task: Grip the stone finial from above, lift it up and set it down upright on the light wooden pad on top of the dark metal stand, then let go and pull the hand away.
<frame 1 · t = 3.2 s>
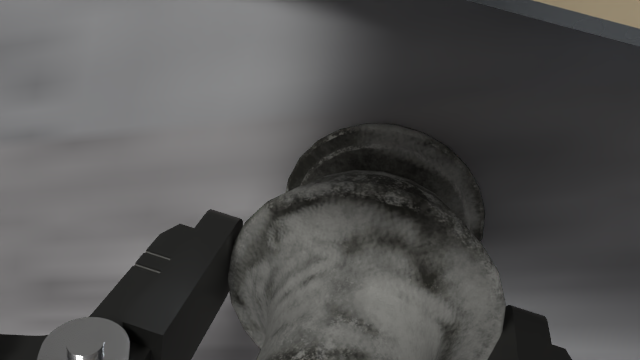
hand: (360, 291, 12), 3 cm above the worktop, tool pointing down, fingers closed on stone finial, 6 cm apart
stone finial: (381, 211, 15), on the worktop, touching gripper
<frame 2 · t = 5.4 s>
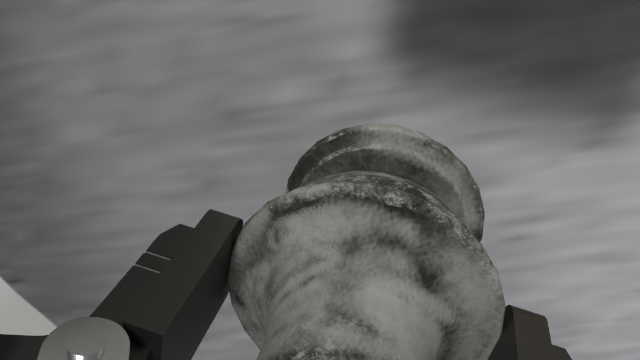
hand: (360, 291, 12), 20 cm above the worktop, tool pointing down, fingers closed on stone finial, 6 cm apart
stone finial: (381, 211, 15), point 17 cm above the worktop, touching gripper
when the fingers open (13 cm above the worktop, at t = 8.1 s): stone finial drops 1 cm, resting on stand.
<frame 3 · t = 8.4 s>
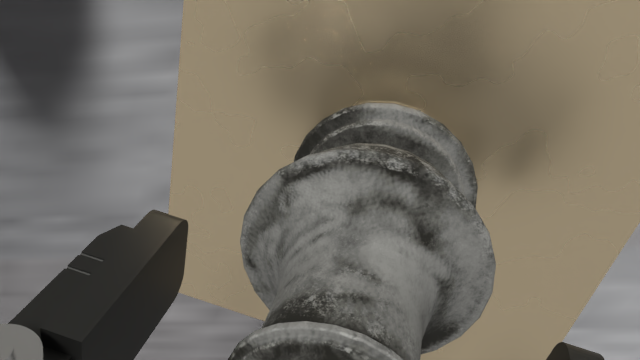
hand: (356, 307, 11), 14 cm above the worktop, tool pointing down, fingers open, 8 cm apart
stand: (412, 86, 23), on the worktop
stone finial: (382, 186, 16), point 9 cm above the worktop, touching stand
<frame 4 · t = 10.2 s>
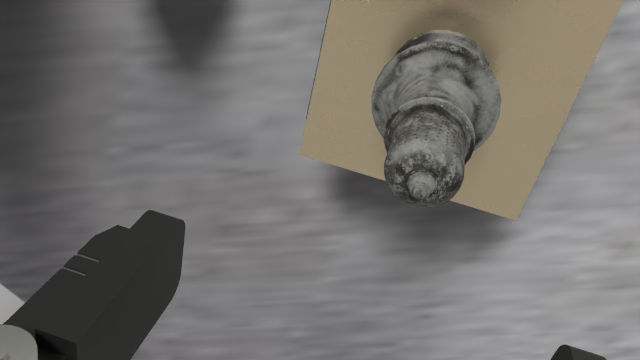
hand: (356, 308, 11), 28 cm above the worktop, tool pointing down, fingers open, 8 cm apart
stand: (447, 39, 36), on the worktop
stone finial: (438, 80, 28), point 9 cm above the worktop, touching stand
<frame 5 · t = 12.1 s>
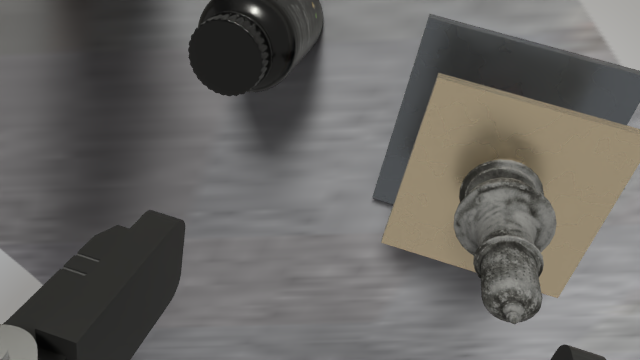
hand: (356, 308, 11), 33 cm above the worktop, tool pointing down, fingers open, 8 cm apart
stand: (495, 138, 43), on the worktop
supplement bottle: (283, 14, 43), on the worktop
stone finial: (500, 193, 36), point 9 cm above the worktop, touching stand
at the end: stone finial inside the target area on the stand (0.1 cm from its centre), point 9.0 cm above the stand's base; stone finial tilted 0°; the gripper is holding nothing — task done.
